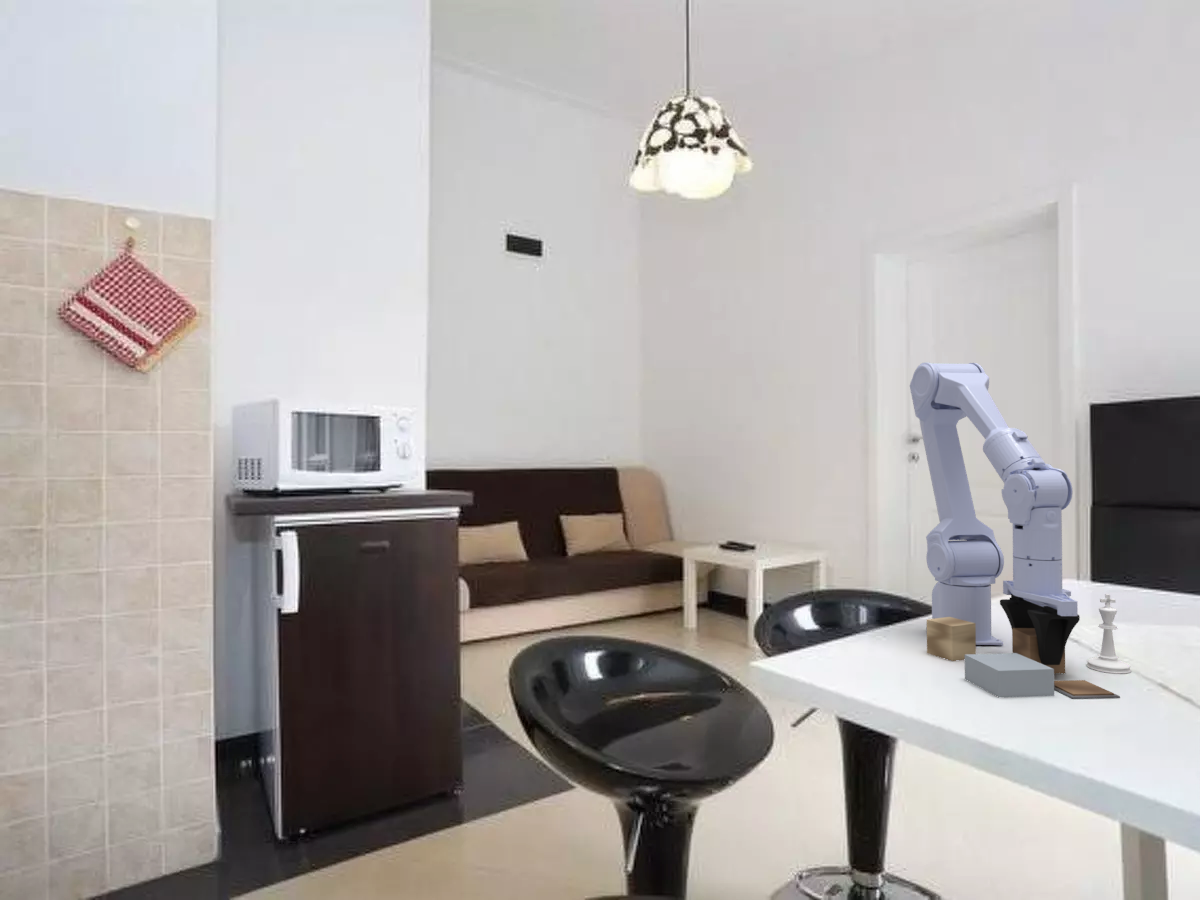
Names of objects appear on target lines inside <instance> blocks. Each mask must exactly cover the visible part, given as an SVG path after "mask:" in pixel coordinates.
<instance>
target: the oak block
mask: <svg viewBox="0 0 1200 900" xmlns="http://www.w3.org/2000/svg"><path fill="white" fill-rule="evenodd" d="M926 627H927V630H926V654H928V655H931V656H934V655H935V657H937V656H939V657H938V658H940V657H941V658H940V659H943V658H945V659H944V660H946V659H948V660H947V661H949V660H951V661H950V662H957V661H956V660H959V661H965V660H964V659H965V654H977V648H976V647H977V645H976V623H972V622H968V621H965V620H961V619H957V618H953V617H943V618H935V619H932V618H928V619H926Z"/></svg>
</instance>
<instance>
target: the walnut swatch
mask: <svg viewBox="0 0 1200 900" xmlns="http://www.w3.org/2000/svg"><path fill="white" fill-rule="evenodd" d="M1054 691H1056V692H1057V693H1061V694H1062V695H1064V696H1066V697H1068V698H1070V699H1075V700H1076V699H1077V700H1078V699H1079V700H1080V699H1082V700H1083V699H1118V698H1119V699H1120V698H1121V696H1120V695H1119V694H1116V693H1114V692H1113V691H1109V690H1107V689H1105V688H1103V687H1100V686H1099V685H1097V684H1094V683H1091V682H1090V681H1087V680H1085V679H1081V680H1080V679H1079V680H1077V679H1076V680H1075V679H1074V680H1054Z"/></svg>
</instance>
